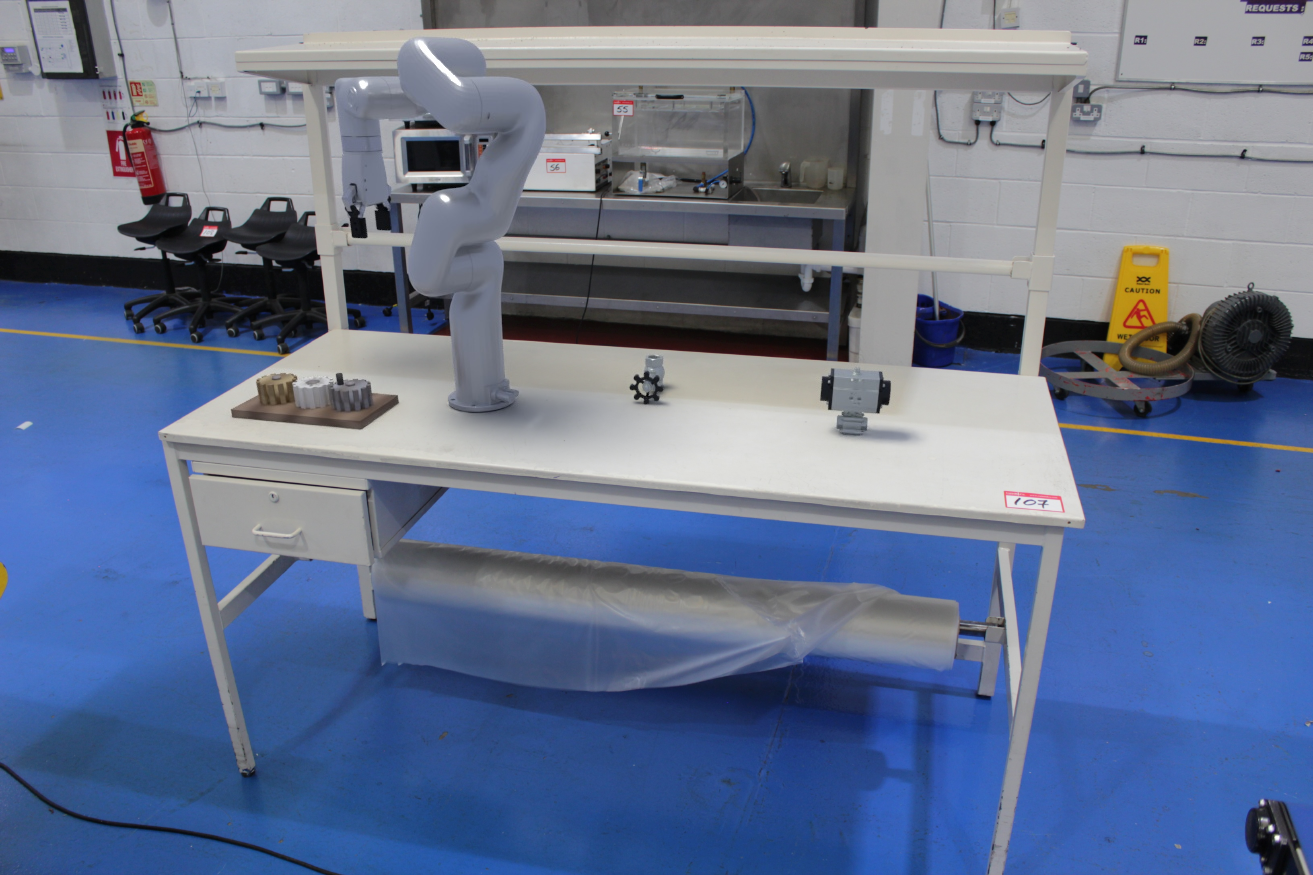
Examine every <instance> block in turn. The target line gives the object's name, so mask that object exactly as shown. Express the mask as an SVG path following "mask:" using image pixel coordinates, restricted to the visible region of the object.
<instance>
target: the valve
mask: <svg viewBox="0 0 1313 875" xmlns="http://www.w3.org/2000/svg"><path fill="white" fill-rule="evenodd" d="M644 360H645V362H644V363H645V367H644V369H643V376H642V377H641V376H640V374H638V373H636V374H634V375H633V381H635V384H634V383H631V384H630V385H629V387H628V388H629V390H630V391H635V394H634V395H633V400H635V401H639V400H640V399H643V404H644V405H649V404H650V402H651V399H652V400H653V401H654V402H659V401H660V398H661V396H660V395H658V392H659V393H663V392H664V390H665V386H664V378H665V368H664V356H663V355H661V354H647V355H646V356H645V359H644ZM640 384H641V386H642V391H643V392H644V393H645V394H643V393H641V391H640V390H639V385H640ZM651 391H653V393H652V394H650V392H651Z"/></svg>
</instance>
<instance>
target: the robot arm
mask: <svg viewBox="0 0 1313 875" xmlns="http://www.w3.org/2000/svg"><path fill="white" fill-rule="evenodd" d="M396 59H397V60H396V66H397V72H398V76H397V75H396V76H392V75H391V76H390V75H389V76H381V75H379V76H358V77H340V78H337V79H336V80H335V82H334V94H335V101H336V112H337V117H338V119H337V120H338V126H339V134H340V140H341V148H342V155H341V181H342V182H341V183H342V186H341V187H342V196H341V201H342V204H343V206H344V210H345V212H346V213H347V218H349V225H350V233H351V237H352V238H353V239H367V238H368V237H369V236H368V228H367V227H368V226H367V219H366V217H364V215H365V211H366V208H367V207H372V206H374V207H375V210H374V211H373V212H374V217H375V218H374V220H375V228H376V230H377V231H388V232H389V231H392V229H393V228H392V219H391V208H392V206H391V201H392V187H391V186H390V185H389V184H388V178H387V172H386V166H385V162H384V158H383V153H384V150H383V142H382V133H381V125H380V120H403V119H405V120H406V119H414V118H418V117H422V116H425V115H428V114H430V115H431V117H433V119H434V120H436V122H437V123H439V125H440V126H442V127H443V128H445V129H446V130H448V131H449V132H451V133H454V134H459V135H473V134H474V135H476V134H479V135H480V134H494V133H497V135H496V137H495V138H494V139H493V140H492V141H491V142H490V143H489V144H488V145H487V146H486V148H484V150H483V151H482V153H481V154H480V156H479V158H478V159H477V161H476V164H475V168H474V171H473V175H472V177H471V178H470V181H469V182H468V183H467V184H465V186H461V187H456V188H455V187H454V188H446V189H441V190H437V191H435V192H433V193H431V195H429V196H428V197H427V198H426V199H425V201H424V202H423V204H422V206H421V209H420V211H419V216H418V218H417V223H416V227H415V231H414V234H413V238H412V242H411V245H410V248H409V253H408V258H407V274H408V279H409V282H410V284H411V286H412V287H413V289H414V290H415V291H416V292H417V293H419V294H421V295H423V296H425V297H440V296H441V297H442V296H446V295H450V294H453V297H452V299H451V302H450V306H449V312H448V314H449V315H448V316H449V317H448V318H449V330H450V342H451V354H452V364H453V374H454V387H455V390H454V391H453V392H451V393H450V394H449V395H448V397H447V402H448V405H449V406H450V407H452V408H453V409H455V410H457V411H462V412H472V413H473V412H474V413H481V412H492V411H495V410H501V409H503V408H506V407H508V406H510V405H511V404H513V403H514V402H515V400H516V398H517V397H519V393H520V392H519V390H518V389H515V388H511V387H510V379H507V378H506V372H505V370H506V369H505V357H504V356H505V355H504V340H503V339H504V338H503V324H502V322H503V321H502V318H503V317H502V284H503V277H504V265H505V262H504V255H503V252H502V249H501V247H500V246H499V244H498V242H496V240H499V239H502V238H503V237H504V236H505V235H506V234H507V233H508V231H509V228H510V226H511V224H512V221H513V219H514V216H515V213H516V211H517V207H518V204H519V202H520V199H521V196H522V193H523V190H524V189H525V184H526V181H527V180H528V176H529V174H530V173H531V170H532V168H533V167H534V164H535V162H536V160H537V159H538V156H539V154H540V152H541V149H542V148H543V144H544V139H545V137H546V130H547V116H546V115H547V114H546V108H545V105H544V101H543V99H542V96H541V94H540V93H539V91H538V90H537V88H536V87H535V86H534V85H533V84H531V83H530V82H528V81H526V80H523V79H520V78H516V77H511V76H485V75H486V72H487V63H486V58H485V55H484V54H483V52H482V51H481V49H480V48H479V47H478V46H477V45H476V44H475V43H472V42H471V41H468V40H467V39H463V38H460V37H459V38H457V37H437V36H417V37H412V38H411V39H408V40H407V41H405V42H404V44H403V45H402V46H401V47H400V49H399V51H398V54H397V58H396Z"/></svg>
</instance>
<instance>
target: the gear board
mask: <svg viewBox="0 0 1313 875" xmlns="http://www.w3.org/2000/svg"><path fill="white" fill-rule="evenodd" d="M343 374H344V373H343V372H337V373H335V379H336V382H334V384H331V386H330V392H331V399H332V405H326V407H323V408H320V407H317V408H316V409H310V408H306V409H303V408H301V407H297V406H296V403H295V397H294V391H293V385H292V384H293V382H296V380H298V379H299V378H298V375H296V374H294V373H292V372H291V373H286V372H280V373H271V374H269V375H267V374H266V375H263V376H261V377H257V379H256V381H255V384H256V389H257V395H256V396H255V395H254V397H252V398H250V399H248V400H246V401H244V402H242V403H240V404H238V405H236V406H234V407H232V408H231V409H230V412H231V417H232V418H238V419H249V420H259V421H268V422H269V421H271V422H281V423H282V422H283V423H290V424H291V423H292V424H301V425H302V424H304V425H315V426H324V427H325V426H326V427H334V428H335V427H336V428H343V429H345V428H347V429H356V430H362V429H363V428H365V427H366V426H368V425H369V424H370V423H372V422H373V421H374V420H376V419H378V418H379V417H381V416H382V415H384V414H385V413H386V412H387V411H390V409H392V408H393V407H395V406H396V405H398V404H399V402H400V401H399V394H386V393H375V392H372V386H371V384H372V383H371V381H370V380H368V381H367V379H365V378H364V379H363V378H362V379H359V378H352V379H348V378H347V379H344V376H343ZM317 383H318V381H310V382H309V384H317Z"/></svg>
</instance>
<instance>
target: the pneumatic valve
mask: <svg viewBox="0 0 1313 875" xmlns="http://www.w3.org/2000/svg"><path fill="white" fill-rule="evenodd" d="M820 382H821V383H820V384H821V385H820V397H819V400H820V402H826V403H825V404H826V405H827V411H836V412H837V411H838V412H841V414H840V415H839V414H838V415H837V416H836V424H835V425H836V427H835V428H836V429H837V430H840V431H839V433H840V434H842V435H849V436H862V435H863V434H864V432H866V431H867V430H868V424H869V423H868V420H869V419H868V418H869V417H867V416H865V414H867V413H868V414H877V415H878V414H880V413H881V409H883V406H889V405H890V401H891V392H892V382H891V380H889V379H887V380H886V379H885V377H884V375H883V371H880V370H865V369H864V370H862V369H861V367H859V366H858V367H856V366H854V369H848V368H832V367H831V368H830V373H828V376H826V375H825V376H824V375H822V376H821V381H820Z"/></svg>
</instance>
